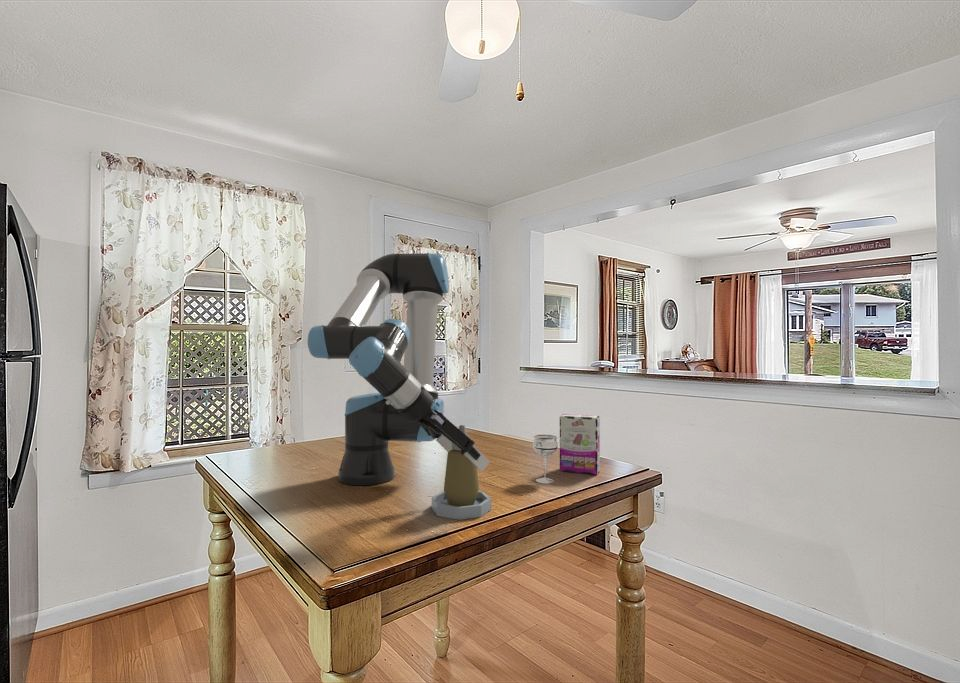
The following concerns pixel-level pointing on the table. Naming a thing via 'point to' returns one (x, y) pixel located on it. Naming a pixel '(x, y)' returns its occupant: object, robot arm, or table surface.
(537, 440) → the wineglass
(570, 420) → the candy bar box
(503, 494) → the table surface
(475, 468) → the squeeze bottle
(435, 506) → the octagonal tray
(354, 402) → the robot arm
